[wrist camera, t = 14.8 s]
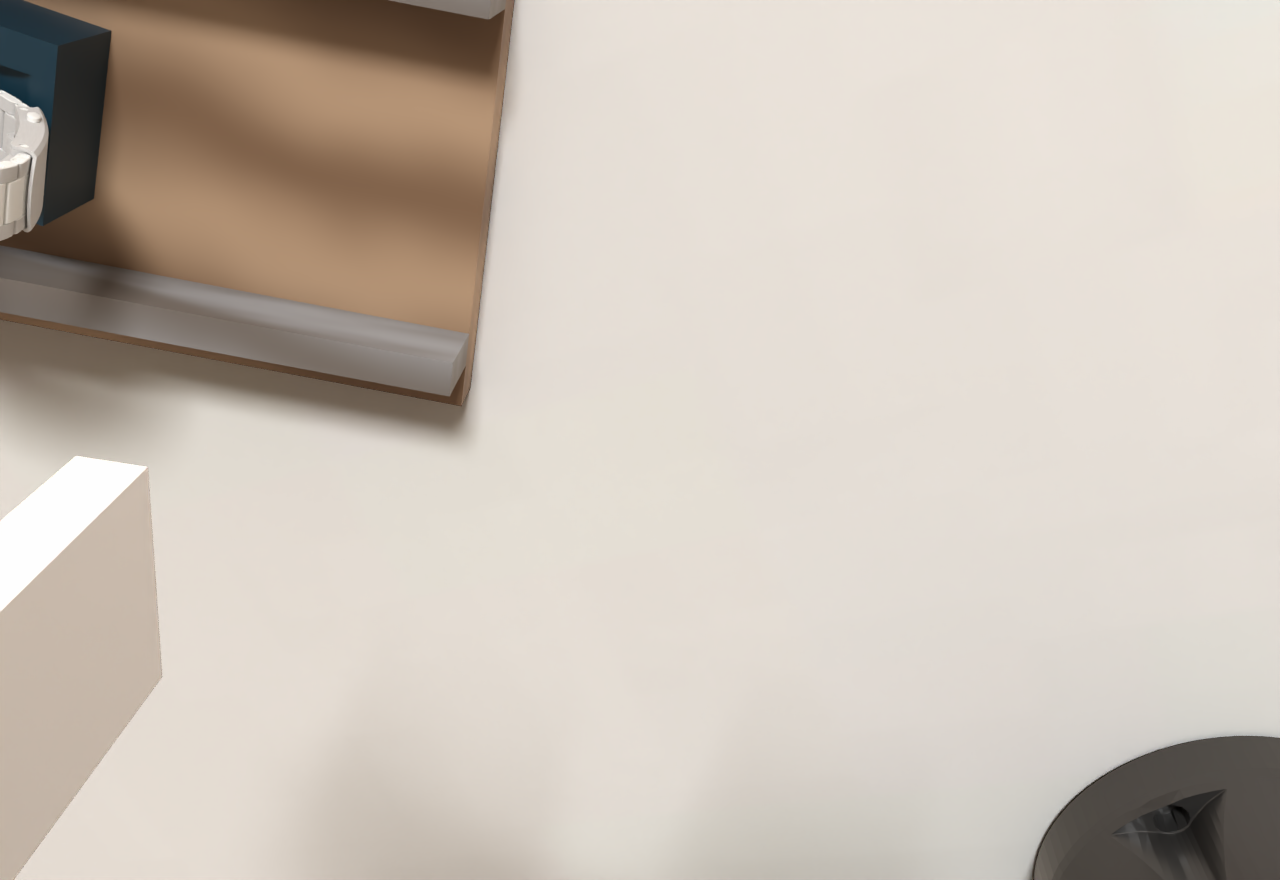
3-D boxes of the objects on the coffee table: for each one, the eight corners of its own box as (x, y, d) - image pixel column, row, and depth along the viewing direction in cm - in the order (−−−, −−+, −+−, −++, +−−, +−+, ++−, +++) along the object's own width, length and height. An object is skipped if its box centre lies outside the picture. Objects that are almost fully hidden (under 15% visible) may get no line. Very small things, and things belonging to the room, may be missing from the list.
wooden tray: (470, 388, 41) (445, 438, 38) (-191, 263, 41) (-279, 302, 37) (525, -95, 34) (500, -89, 30) (-280, -250, 34) (-400, -262, 30)
